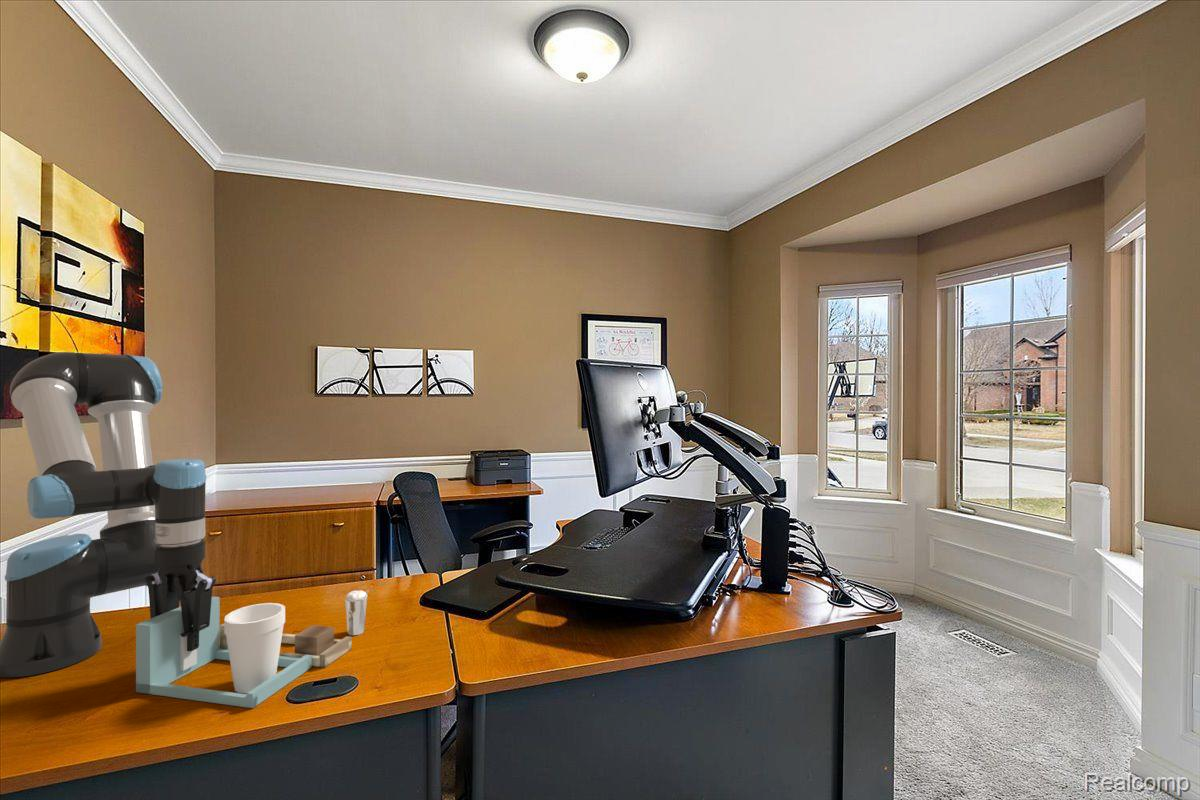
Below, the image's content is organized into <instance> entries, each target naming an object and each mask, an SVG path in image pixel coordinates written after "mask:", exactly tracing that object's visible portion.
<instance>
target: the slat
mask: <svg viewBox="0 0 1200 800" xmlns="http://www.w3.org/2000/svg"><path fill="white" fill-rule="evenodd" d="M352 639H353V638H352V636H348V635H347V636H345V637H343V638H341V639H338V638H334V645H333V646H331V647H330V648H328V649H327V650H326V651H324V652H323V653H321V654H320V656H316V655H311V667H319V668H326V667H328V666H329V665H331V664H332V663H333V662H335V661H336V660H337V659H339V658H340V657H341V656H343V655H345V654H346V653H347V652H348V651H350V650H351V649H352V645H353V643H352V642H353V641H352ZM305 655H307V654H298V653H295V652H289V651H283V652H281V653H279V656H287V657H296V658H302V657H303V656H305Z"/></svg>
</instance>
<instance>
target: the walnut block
mask: <svg viewBox="0 0 1200 800" xmlns="http://www.w3.org/2000/svg"><path fill="white" fill-rule="evenodd" d="M294 635H295V644H294V653H298V654H307V655H316V656H320V654H321V653H323V652H324V651H326V650H327V649H328V648H330V647H331V646H333V645H334V639H335V627H334V626H326V625H325V626H323V625H317V624H316V625H315V624H312V625H310V626H308V627H307V628H305V629H304V630H302V631H301V632H299V633H297V634H294Z"/></svg>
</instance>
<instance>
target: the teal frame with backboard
mask: <svg viewBox="0 0 1200 800" xmlns="http://www.w3.org/2000/svg"><path fill="white" fill-rule="evenodd" d="M220 600H221V599H220V596H213V595H212V600H211V613H210V625H209V627H207V628H205V629H203V630H201V631H199V647H198V648H197V664H195V665H193V666H191V667H190V668H188V669H186V670H184V671H182V670H180V635H181V634H182V633H184V626H183V619H182V611H181V606H179V607H178V608H176V609H173V610H171V611H168V612H166V613H163V614H161V615H158V616H156V617H153V618H149V619H146V620H144V621H141V622H139V623H137V624H135V627H136V628H135V693H141V694H145V695H146V694H148V695H155V696H162V697H169V698H177V699H184V700H191V701H198V702H205V703H206V702H207V703H211V704H212V703H213V704H220V705H228V706H235V707H241V708H249V709H254V708H255V707H257V706H258V705H259V704H261V703H263V702H264V701H266V700H267V699H268V698H270V697H272V695H274V694H276V693H277V692H279V691H280V690H282V688H283V689H284V687H286V686H287V685H288V684H290V683H291V682H293V681H294V680H296V679H297V678H298V677H300V676H301V675H303V674H304V673H306V672H307V671H308V670H310V669H312V666H311V655H305V656H303V657H302V658H296V657H287V656H280V655H279V659H278V666H277V667H283V668H284V669H282V670H280V671H279V672H277V673H276V675H274V676H272V677H271V678H269V679H268V680H266V681H265V682H263V683H262V684H260V685H259V686H257V687H256V688H254V689H253V690H251V691H249V692H248V693H238V692H231V691H223V690H214V689H208V688H200V687H194V686H193V687H192V686H185V685H177V684H172V683H173V682H175V681H177V680H179V679H180V678H183V677H184V676H186V675H188V674H190V673H191V672H193V671H196V670H197V669H199V668H201V667H203V666H205V665H207V664H208V663H210V662H212V661H214V660H223V661H230V658H229V651H228V650H227V649H220V618H221V617H220V612H221V611H220V608H221V607H220V604H221V603H220V602H221V601H220ZM192 626H193V625H192Z"/></svg>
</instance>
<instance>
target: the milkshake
mask: <svg viewBox="0 0 1200 800" xmlns="http://www.w3.org/2000/svg"><path fill="white" fill-rule="evenodd" d="M366 591H367V592H366ZM366 591H363V590H351V591H350V592H348V593H347V594H346V595H345V597H344V601H345V613H346V624H347V625H346V627H347V634H348V635H349V636H351V637H352V636H359V635H362V634H363V633H364V632H365V626H366V611H367V602H368V593H369V591H370V588H368V589H367V590H366Z"/></svg>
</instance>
